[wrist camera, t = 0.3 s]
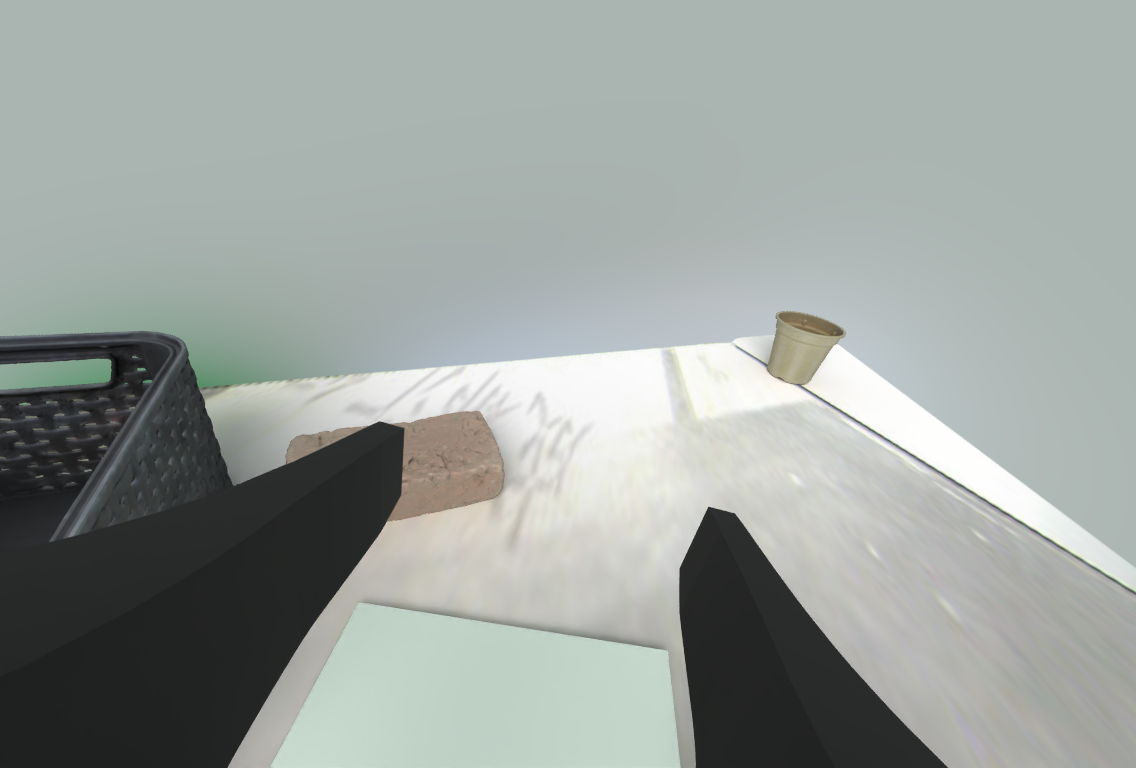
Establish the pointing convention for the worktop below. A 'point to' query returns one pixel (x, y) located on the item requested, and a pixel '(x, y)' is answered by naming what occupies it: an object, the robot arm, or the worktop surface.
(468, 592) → the worktop surface
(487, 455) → the brick
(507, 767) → the mat
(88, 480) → the storage bin
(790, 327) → the flower pot
